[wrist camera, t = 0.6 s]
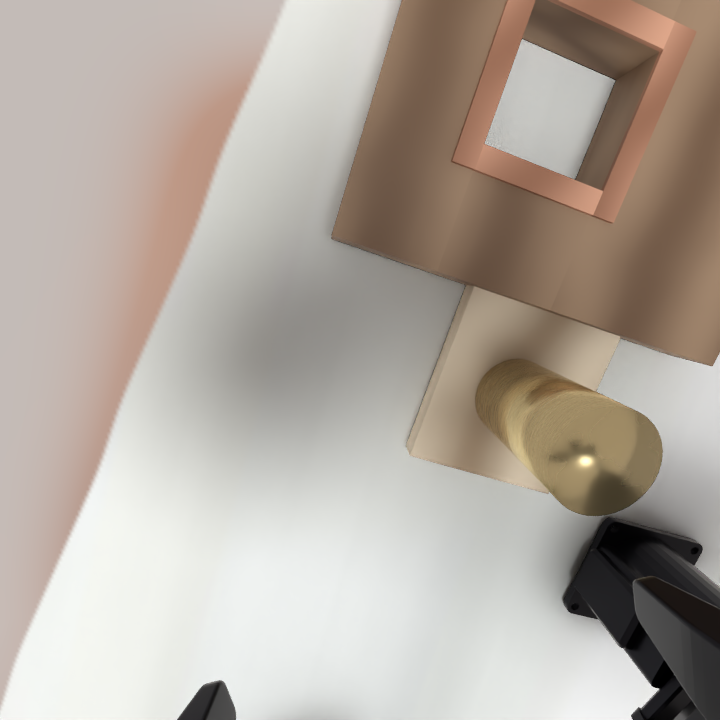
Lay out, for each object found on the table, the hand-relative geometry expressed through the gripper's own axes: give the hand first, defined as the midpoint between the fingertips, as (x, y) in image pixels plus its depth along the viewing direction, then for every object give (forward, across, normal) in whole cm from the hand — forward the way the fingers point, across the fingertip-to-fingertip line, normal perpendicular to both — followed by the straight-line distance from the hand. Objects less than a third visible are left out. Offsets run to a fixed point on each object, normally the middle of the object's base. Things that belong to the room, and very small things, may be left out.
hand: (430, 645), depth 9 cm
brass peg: (+12, -7, 0) cm, 14 cm away
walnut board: (+13, -9, -7) cm, 18 cm away
